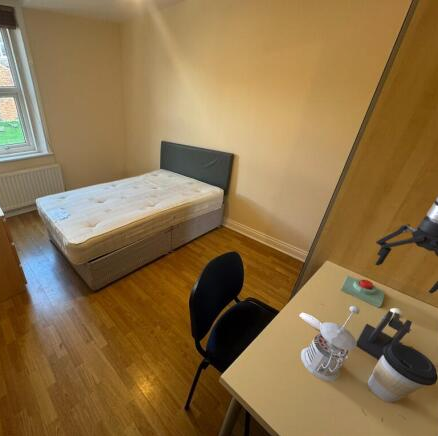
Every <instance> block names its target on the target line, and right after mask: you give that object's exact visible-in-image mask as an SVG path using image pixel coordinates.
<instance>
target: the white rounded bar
mask: <svg viewBox="0 0 438 436" xmlns="http://www.w3.org/2000/svg"><path fill="white" fill-rule="evenodd" d="M299 318H301V320H303V321H304V322H305V323H306V324H308V325H310V326H311V327H313V328H314V329H316V330H318V331H320V326H321V324H323V323H324V322H322V321H321V320H319V319H318V318H316V317H315V316H313V315H311V314H308V313H307V312H306V313H305V312H301V313H300V314H299Z"/></svg>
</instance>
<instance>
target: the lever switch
mask: <svg viewBox="0 0 438 436" xmlns="http://www.w3.org/2000/svg"><path fill="white" fill-rule="evenodd" d="M389 311H391V312H393V315H392V317H391V320H390V321H389V323H388V324H387V325H388V327H389V328H391V329H393V330H395V331H396V332H397V331H399V329H400V328H401V327H402V325H403V324H404V321H403V320H400V319H403V318H404V316H405V314H404V311H403V310H401V309H400V308H397V307H394V308H393V307H392V308H390V310H389Z"/></svg>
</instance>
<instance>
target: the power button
mask: <svg viewBox="0 0 438 436" xmlns="http://www.w3.org/2000/svg"><path fill="white" fill-rule="evenodd" d="M373 285H374V283H373V282H372V281H371V280H368V279H361V282H360V286H362V287H363V288H365V289H371V288H372V287H373Z"/></svg>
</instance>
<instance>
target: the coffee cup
mask: <svg viewBox="0 0 438 436" xmlns="http://www.w3.org/2000/svg"><path fill="white" fill-rule="evenodd" d="M437 372H438V371H437V368H436V366H435V365H434V363H433V362H432V361H431V359H429V358H428V357H427V356H426V355H425V354H423V353H422V352H421V351H419V350H417V349H416V348H414V347H411V346H409V345H406V344H404V343H403V344H389V345H387V346H385V347H384V348H383V355H382V356H381V358H380V360H378V361H377V363H376V365H375V367H374V368H373V370H372V374H371V375H370V377H369V378H368V381H367V385H368V388H369V389H370V391H371V392H372V393H373V394H374V395H375V396H376V397H377V398H378V399H380V400H382V401H384V402H386V403H389V404H392V403H396V402H397V401H399V400H401V399H402V398H405V397H409V396H410V395H411V394H413V393H415V392H417V391H419V390H420V389H422V388H424V386H427V387H428V386H434V385H435V384H436V383H437V381H438V373H437Z"/></svg>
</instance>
